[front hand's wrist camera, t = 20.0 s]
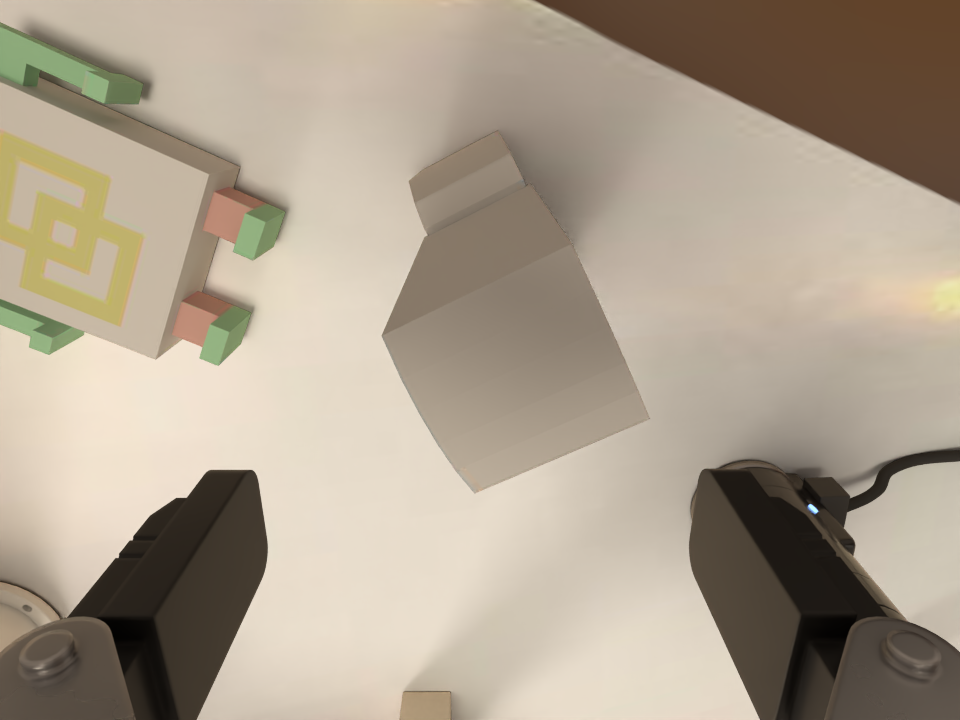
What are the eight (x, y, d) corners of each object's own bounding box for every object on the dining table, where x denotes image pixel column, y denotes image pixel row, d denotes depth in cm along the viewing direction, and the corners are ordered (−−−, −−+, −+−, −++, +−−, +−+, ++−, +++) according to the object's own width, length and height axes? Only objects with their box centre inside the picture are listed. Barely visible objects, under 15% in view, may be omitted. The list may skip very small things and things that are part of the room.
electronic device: (569, 278, 49) (685, 496, 22) (484, 319, 51) (489, 575, 23) (500, 128, 45) (534, 156, 17) (409, 176, 47) (305, 274, 19)
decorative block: (-171, 277, 43) (-147, -33, 36) (-91, 256, 49) (-58, -13, 42) (198, 417, 47) (282, 162, 40) (230, 383, 53) (308, 155, 46)
